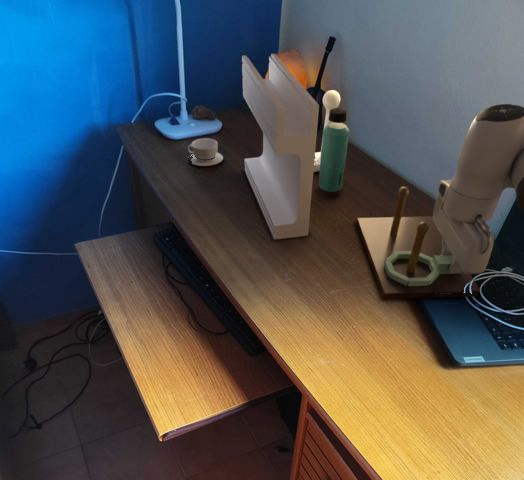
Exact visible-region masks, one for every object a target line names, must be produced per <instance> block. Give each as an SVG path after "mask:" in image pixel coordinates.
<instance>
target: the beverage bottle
mask: <svg viewBox="0 0 524 480" xmlns="http://www.w3.org/2000/svg"><path fill="white" fill-rule="evenodd" d="M347 112H348V111H347V110H346V109H344V108H340V107H337V108H334V109H331V110H330V114H329V121H331V122H333V123H330V124H328V125H327V126H326V127H325V128H324V127H323V129H322V138H323V141H322V140H321V146H322V151H321V150H320V152H321V158H320V159H321V160H320V167H319V169H320V170H319V171H318V180H317V181H318V187H319V188H320V189H321V190H322V191H326V192H331V193H333V192H338V191H340V190H341V189H342V188H343V186H344V181H345V173H346V163H347V155H348V143H349V134H350V128H349V127H348V125H346V124H345V122H346V121H347Z"/></svg>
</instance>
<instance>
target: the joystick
mask: <svg viewBox="0 0 524 480" xmlns="http://www.w3.org/2000/svg"><path fill="white" fill-rule="evenodd" d="M340 103H341V95H340V93H339V92H338V91H337V90H334V89H330V90H328V91H326V92H325V93H324V95H323V97H322V106H323V107H324V108H325V117H324V124H323V129H324V128H325V127H326V126H327V125H328V124H330V123H333V122H331V121H329V114H330V110H331V109H334V108H339V105H340ZM322 141H323V137H322V138H321V142H322ZM321 151H322V145H321V146H320V151H318V152H316V151H315V159H314V171H313V173H317V172H319V170H320V169H319V167H320V160H321V159H320V158H321Z"/></svg>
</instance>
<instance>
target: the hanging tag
mask: <svg viewBox="0 0 524 480" xmlns="http://www.w3.org/2000/svg"><path fill="white" fill-rule="evenodd" d="M411 252H412V251H397V252H394V253H393V254H392V255H390V256H389V257H388V258H387V259H385V263H384V267H385V269H386V272H387V275H388V277H389V278H391V279H393V280H395V281H397V282H399V283H402V284H404V285H406V286H407V285H408V286H428V285H430V284H431V283H432V282H433V281H434V280H435V279H436V278H437V277H438V276H439V274H451V273H449V271H448V269H447V267H448V264H449V262H453V261H454V259H453V257H454V256H453V255H434V257H433V258H431V257H429V256H427V255H424V254H422V253H420V254H419V258H418V261H420V262H422V263H425V264H427V265H428V266H429V268H430V270H431V272H432V273H430V274H429V275H428V276H427V277H423V278H409V277H406V276H404V275H402V274H400V273H398V272H396V271H395V270H394V268H393V265H392V263H394V262H395V261H396V260H397V259H410V256H411ZM458 273H462V269H461V268H460V269H459V271H458ZM452 274H456V273H452Z"/></svg>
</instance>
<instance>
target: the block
mask: <svg viewBox="0 0 524 480" xmlns="http://www.w3.org/2000/svg"><path fill="white" fill-rule="evenodd" d="M268 61H269V62H268V78H263V76H261V74H260V72H259V71H258V69H257V68H256V67H255V66H254V64H253V62H252V61H251V59H250V58H249V57H247V55H241V62H242V63H241V76H242V79H241V80H242V97H243V99H244V100H245V103H246V105H247V106H248V108H249V110H250V111H251V114H252V116H253V117H254V119H255V120H256V122H257V124H258V126H259V128H260V130H261V131H262V133H263V134H262V153H261V155H259V156H257V157H248V158H244V159H243V161H244V173H245V175H246V178H247V180H248V182H249V184H250V187H251V189H252V192H253V194H254V196H255V199H256V201H257V204H258V206H259V208H260V211H261V213H262V215H263V218H264V219H265V222H266V224H267V227H268V229H269V231H270V234H271V236H272V239H273V240H282V239H289V238H290V239H291V238H298V237H299V238H300V237H306V236H309V228H310V215H311V205H312V195H313V194H312V192H313V181H314V172H313V171H314V159H315V153H316V147H317V135H318V124H319V110H320V105H319V103H318V102H317V101H316V99H315V98H314V97H313V96H312V95H311V94H310V93H309V92H308V90H307V89H306V88H305V87H304V86H303V85H302V84H301V82H300V81H299V80H298V79H297V77H296V76H295V75H294V74H293V73H292V72H291V71H290V69H289V68H288V67H287V65H285V63H284V62H283V60H282V59H280V57H278V55H277V54H276V53H271V54H270V56H268Z"/></svg>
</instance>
